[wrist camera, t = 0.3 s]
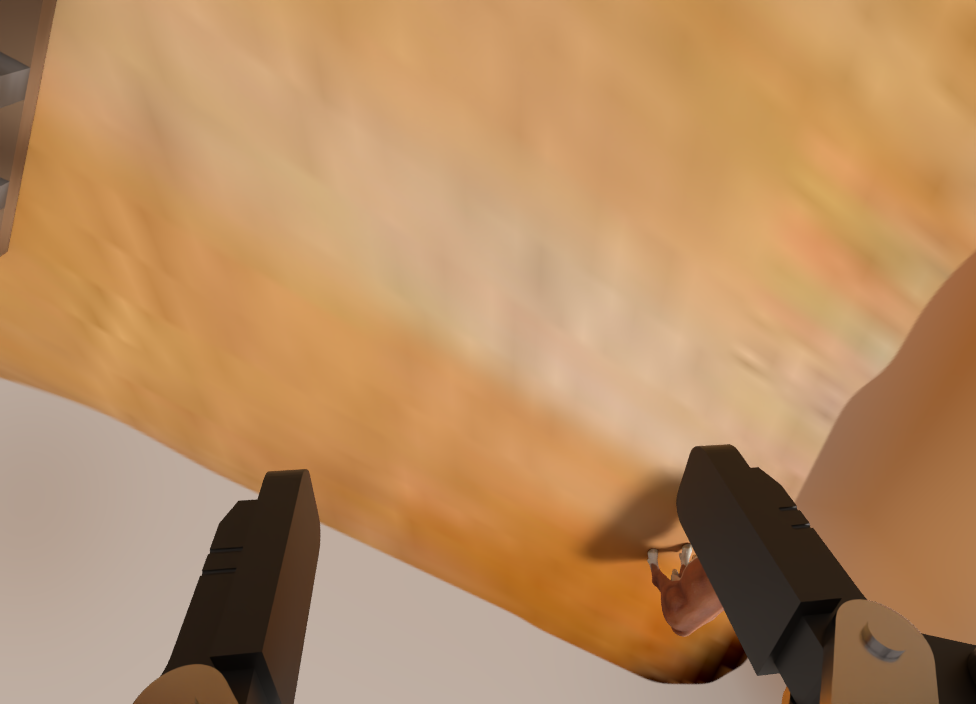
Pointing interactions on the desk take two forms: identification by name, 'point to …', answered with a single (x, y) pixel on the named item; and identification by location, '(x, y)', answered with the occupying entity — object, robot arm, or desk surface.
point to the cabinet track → (19, 93)
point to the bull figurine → (685, 593)
